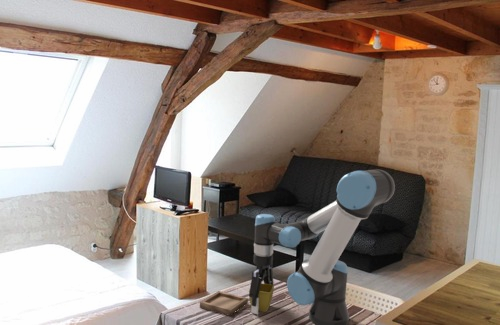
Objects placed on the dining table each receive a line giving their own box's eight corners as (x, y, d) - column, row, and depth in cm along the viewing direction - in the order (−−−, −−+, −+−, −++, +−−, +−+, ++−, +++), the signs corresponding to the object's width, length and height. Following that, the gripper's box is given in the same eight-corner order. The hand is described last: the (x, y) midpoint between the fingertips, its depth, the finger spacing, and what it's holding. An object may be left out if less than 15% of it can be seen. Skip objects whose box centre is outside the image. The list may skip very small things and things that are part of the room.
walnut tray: (247, 303, 190) (247, 298, 190) (230, 315, 178) (230, 310, 178) (218, 296, 197) (218, 291, 197) (199, 307, 184) (199, 302, 184)
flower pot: (269, 315, 180) (270, 292, 179) (247, 312, 182) (248, 290, 181) (273, 306, 189) (274, 284, 188) (252, 303, 190) (253, 282, 190)
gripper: (267, 245, 195) (264, 297, 197) (241, 259, 175) (238, 316, 177) (283, 248, 191) (280, 301, 193) (259, 263, 171) (256, 321, 174)
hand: (260, 308), depth 185 cm, fingers open, 10 cm apart
